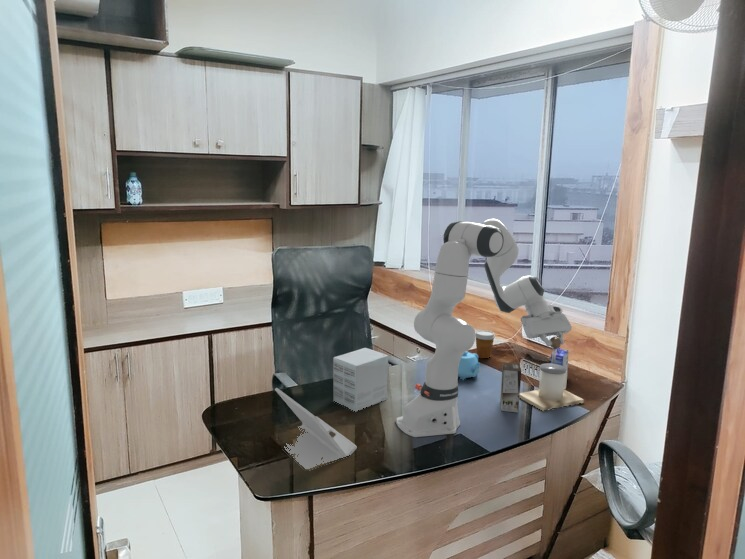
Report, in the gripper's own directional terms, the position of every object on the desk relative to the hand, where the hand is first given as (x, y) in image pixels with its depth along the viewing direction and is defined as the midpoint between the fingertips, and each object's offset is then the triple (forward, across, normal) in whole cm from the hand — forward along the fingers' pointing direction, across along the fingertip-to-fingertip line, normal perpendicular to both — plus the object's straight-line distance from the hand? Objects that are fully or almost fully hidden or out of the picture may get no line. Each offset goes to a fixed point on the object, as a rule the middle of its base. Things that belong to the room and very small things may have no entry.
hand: (556, 344), depth 197 cm
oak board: (+16, 0, +16) cm, 23 cm away
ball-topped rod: (+5, 0, +6) cm, 7 cm away
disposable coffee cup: (-21, +6, +53) cm, 58 cm away
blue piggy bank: (-8, -18, +41) cm, 45 cm away
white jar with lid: (+14, 0, +15) cm, 21 cm away
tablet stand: (+15, -96, +17) cm, 99 cm away
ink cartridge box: (+4, +19, +28) cm, 34 cm away
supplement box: (-3, -69, +36) cm, 78 cm away
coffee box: (+15, -19, +17) cm, 30 cm away
